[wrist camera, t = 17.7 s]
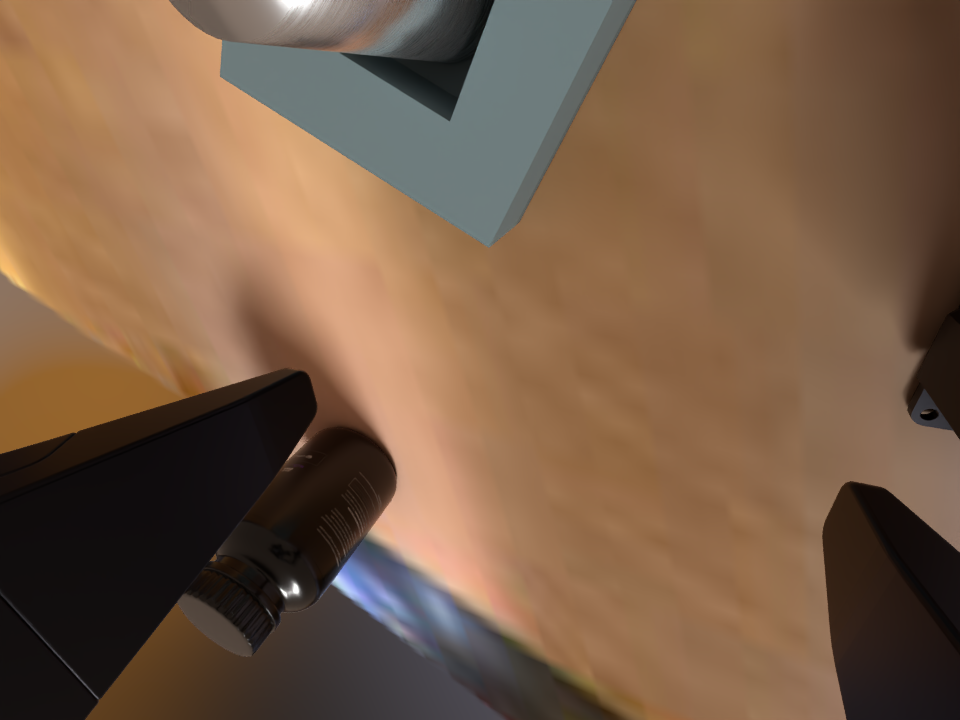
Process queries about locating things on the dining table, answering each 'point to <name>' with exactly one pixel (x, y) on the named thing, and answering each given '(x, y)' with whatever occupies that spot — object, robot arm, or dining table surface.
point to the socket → (448, 106)
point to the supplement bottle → (292, 540)
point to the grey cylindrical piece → (348, 25)
